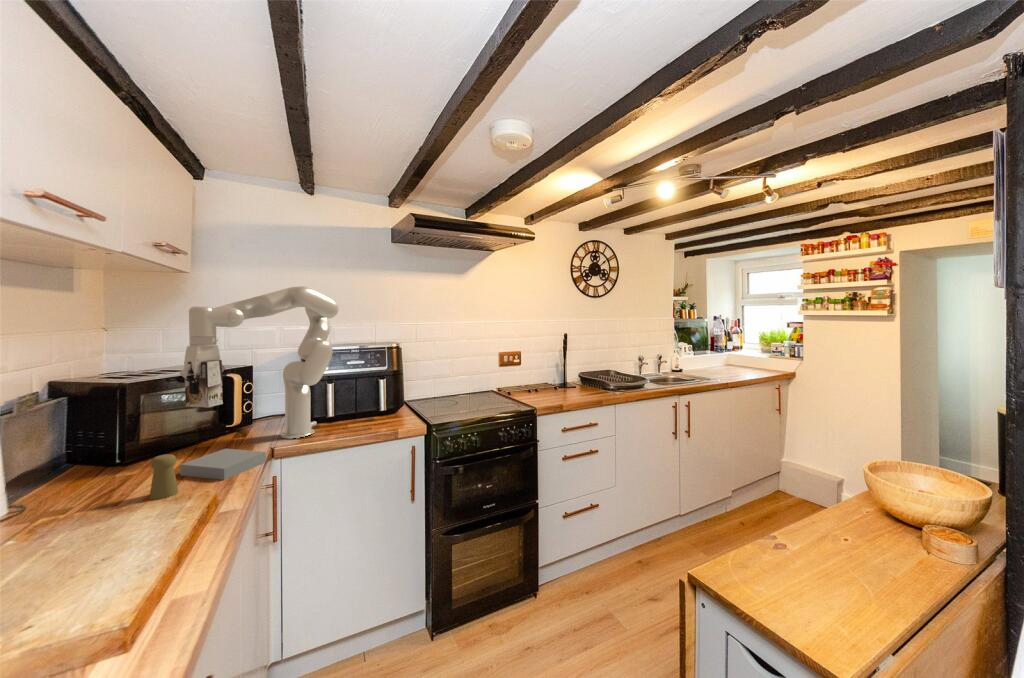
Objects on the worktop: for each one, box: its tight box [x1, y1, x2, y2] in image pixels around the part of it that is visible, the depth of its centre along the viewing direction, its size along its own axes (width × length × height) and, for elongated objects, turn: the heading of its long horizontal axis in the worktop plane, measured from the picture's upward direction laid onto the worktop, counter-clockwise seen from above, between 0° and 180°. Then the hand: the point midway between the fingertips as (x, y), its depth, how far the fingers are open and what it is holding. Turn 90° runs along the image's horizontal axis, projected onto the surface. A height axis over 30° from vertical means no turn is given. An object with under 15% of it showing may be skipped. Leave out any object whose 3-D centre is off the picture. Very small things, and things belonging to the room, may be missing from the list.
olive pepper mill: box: [149, 453, 179, 500], centre depth 108 cm, size 6×6×11 cm
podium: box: [179, 448, 267, 481], centre depth 128 cm, size 16×16×4 cm
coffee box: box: [184, 359, 224, 408], centre depth 138 cm, size 9×6×16 cm
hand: (204, 391), depth 139 cm, fingers closed on coffee box, 6 cm apart
